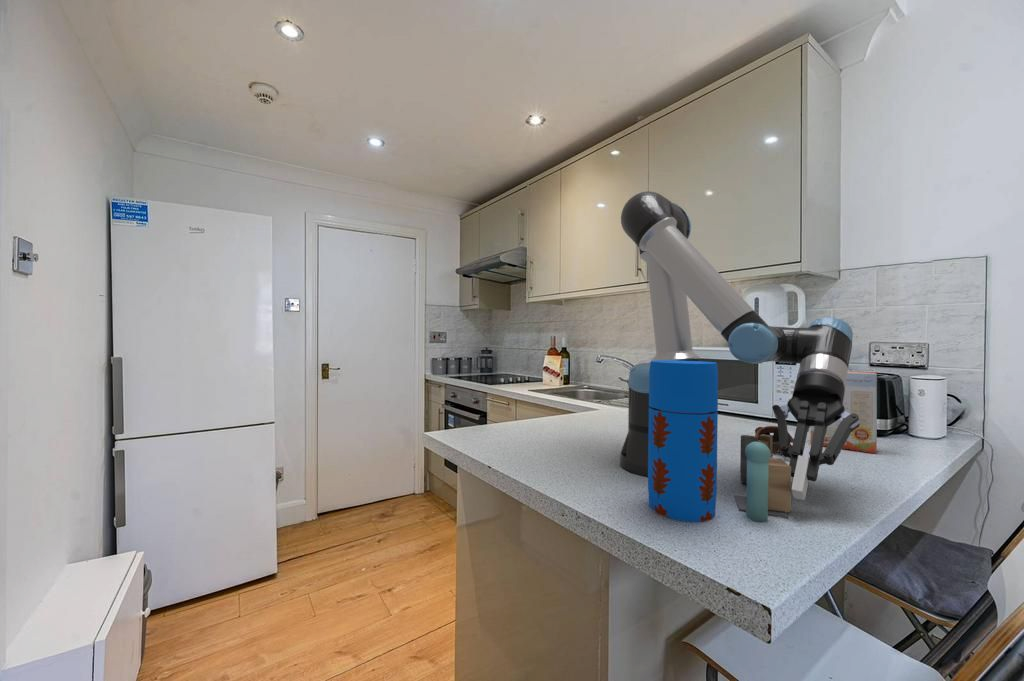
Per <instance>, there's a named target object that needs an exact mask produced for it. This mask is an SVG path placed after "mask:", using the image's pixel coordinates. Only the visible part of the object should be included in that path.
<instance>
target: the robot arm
mask: <svg viewBox="0 0 1024 681" xmlns="http://www.w3.org/2000/svg"><path fill="white" fill-rule="evenodd" d="M620 224H621V228H622V230H623V232H624V233H625V235H626V236H627V237H629V238H630V239H631V241H632V242H633V243H634V244H636V246H637V247H638V250H639V258H640V259H641V260H643V261H644V262H645V263H646V268H647V276H648V279H647V280H648V286H649V287H648V288H649V294H650V304H651V305H650V306H651V313H652V314H651V315H652V322H653V323H652V324H653V333H654V342H655V343H654V344H655V351H656V352H655V353H656V354H655V355H654V357H653V358H652V359H651V360H650V362H651V361H656V360H677V361H701V360H702V359H701V357H700V356H699V355H698V354H697V353H696V352H694V350H693V340H692V332H691V324H690V315H689V306H688V298H689V299H690V301H691V302H692V303H693V304H694V306H696V307H697V308H698V310H699V311H700V312H701V313H702V314H703V316H704V317H706V319H707V320H708V321H709V322H710V324H712V326H713V327H714V328H715V329H716V331H717V332H718V333H719V334H720V335H721V337H722V338H723V339H724V340H725V341H726V342H727V345H728V349H729V351H730V353H731V354H732V356H733V357H734V358H736V360H739V361H741V362H742V363H746V364H751V365H752V364H753V365H758V364H762V363H769V362H776V363H777V362H778V363H789V364H790V363H791V364H799V368H798V371H797V375H796V380H795V382H794V386H793V387H794V388H793V392H792V396H791V398H790V399H789V400H788V401H787V403H786V404H784V405H782V406H779V405H778V404H774V405H773V406H772V407H771V408H772V412H773V414H774V417H775V419H776V421H777V422H776V423H777V427H778V433H779V444H780V449H781V455H782V456H783V458H784V457H785V458H789V464H788V465H789V466H791V478H793V480H792V483H791V494H792V495H793V498H794V499H796V500H797V499H798V500H802V501H805V500H806V496H807V492H808V484H809V481H810V482H816V481H817V479H818V474H819V469H820V466H821V465H828V466H833V465H834V464H835V462H836V461H837V459H838V457H839V455H840V453H841V452H842V450H843V449H842V448H843V446H844V444H845V442H846V441H847V439H848V437H849V435H850V433H851V432H852V431H854V430H855V429H856V428H858V427H859V426H860V423H859V416H858V415H857V414H855V413H852V414H850V413H848V412H846V411H845V408H844V406H843V399H844V393H845V386H846V379H847V372H848V371H849V370H848V369H849V367H850V366H849V365H850V360H851V355H852V354H851V353H852V350H853V335H854V333H853V329H852V327H851V326H850V324H848V322H846V321H845V320H843V319H840V318H837V317H830V316H829V317H828V316H826V317H822V318H819V319H815V320H813V321H812V322H810V324H809V326H808V327H788V326H787V327H786V326H772V325H770V326H769V324H767V322H766V321H765V320H764V319H763V318H762V317H761V316H760V315H759V314H758V313H757V312H756V311H755V310H754V308H752V306H750V304H748V303H747V301H746V300H745V299H744V298H743V297H742V296H741V295H740V293H738V291H736V289H734V287H733V286H732V285H731V284H730V283H728V281H727V280H726V279H725V278H724V277H723V276H722V275H721V273H719V271H718V270H716V268H715V267H714V266H713V265H712V264H711V263H710V262H709V261H708V260H707V258H705V256H704V255H703V254H702V253H701V252H700V251H699V250H698V249H697V248H696V247H695V245H693V244H692V243H691V241H690V240H689V238H690V235H691V231H692V223H691V220H690V217H689V215H688V214H687V212H686V211H685V210H684V209H683V208H682V207H681V206H680V205H679V204H677V203H674V202H672V201H671V200H669V199H667V197H665V196H664V195H662V194H660V193H658V192H655V191H650V190H649V191H641V192H639V193H637V194H635V195H633V196H632V197H630V198H629V199H628V200H627V201H626V202H625V204H624V206H623V208H622V211H621V213H620ZM650 362H641V363H637V364H635V365H633V366H632V367H631V368H630V369H629V372H628V373H629V374H628V376H629V377H628V379H627V384H628V413H627V415H628V416H627V418H628V419H627V420H628V422H627V424H628V427H627V434H626V436H625V440H624V442H623V446H622V448H621V451H620V454H619V465H620V466H621V467H622V468H623V469H624V470H626V471H628V472H631V473H634V474H637V475H641V476H645V477H646V476H647V477H648V433H649V370H650ZM789 413H791V415H792V416H793V417H794V418H795V420H796V427H795V432H794V436H793V439H794V441H793V443H792V444H791V445H792V448H791V447H789V439H788V433H789V430H788V425H787V424H788V423H787V419H788V417H789ZM840 418H841V419H840ZM839 419H840V420H841V423H840V424H839V426H838V428H837V429H836V431H835V433H834V435H833V437H832V438H831V440H830V442H829V444H828V445H827V447H826V448H824V446H823V444H824V439H825V434H826V431H827V426H829V425H831V424H832V423H834V422H836V421H837V420H839ZM811 426H815V427H814V433H813V438H812V443H811V442H810V444H811V445H810V449H809V451H808V456H805V455H804V451H805V446H806V441H807V437H808V432H809V430H810V427H811ZM823 449H825V450H824V451H823Z"/></svg>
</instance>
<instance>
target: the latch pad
mask: <svg viewBox="0 0 1024 681" xmlns="http://www.w3.org/2000/svg"><path fill="white" fill-rule="evenodd" d="M733 497H734V500H735V502H736V506H737V508H739V509H738V512H745V513H746V498H747V495H739V494H734V495H733ZM771 515H774V516H773V517H778V516H780V517H779V518H786V517H787V518H786V519H789V515H788V514H787V512H784V511H775V510H768V516H771Z"/></svg>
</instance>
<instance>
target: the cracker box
mask: <svg viewBox="0 0 1024 681" xmlns="http://www.w3.org/2000/svg"><path fill="white" fill-rule="evenodd" d="M877 381H878V375H877V372H874V371H873V372H870V371H853V370H852V371H849V370H848V372H847V379H846V386H845V393H844V399H843V406H844V408H845V411H846V412H848V413H850V414H852V413H855V414H857V415H858V416H859V423H860V426H859V427H858V428H856V429H855V430H854V431H852V432H851V433H850V435H849V437H848V439H847V441H846V442H845V444H844V446H843V448H842V450H848V449H850V451H854V450H856V452H861V451H862V452H861V453H868V452H869V453H870V454H877V449H878V446H877V441H878V440H877V439H878V438H877V437H878V432H877V430H878V429H877V423H878V422H877V417H878V416H877V415H878V408H877V406H878V403H877V400H878V398H877V397H878V395H877V394H878V393H877V392H878V391H877V390H878V388H877V387H878V385H877V384H878V382H877ZM840 419H841V418H840ZM840 419H839V420H837V421H836V422H834V423H832V424H831V425H829V426H827V431H826V434H825V439H824V444H823V447H825V446H827V445H828V444H829V442H830V440H831V438H832V437H833V435H834V433H835V431H836V429H837V428H838V426H839V424H840V423H841V420H840ZM814 427H815V426H810V444H811V443H812V438H813V433H814Z"/></svg>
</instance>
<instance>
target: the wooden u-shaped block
mask: <svg viewBox="0 0 1024 681" xmlns="http://www.w3.org/2000/svg"><path fill="white" fill-rule="evenodd" d="M751 442H758V437H755V435H749V434H743V435H740V458H739V459H740V463H739V464H740V465H739V468H740V469H739V470H740V471H739V474H740V475H739V477H740V478H739V479H740V480H739V481H740V482H741V483H744V484H747V457H746V455H745V449H746V446H747V445H748V444H749V443H751ZM791 500H792V477H791V466H789V464H788V463H787V462H786V461H784V460H783V459H782V458H777V457H772V458H770V459H769V464H768V510H775V511H784V512H786V513H791V506H792V504H791V502H792V501H791Z"/></svg>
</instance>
